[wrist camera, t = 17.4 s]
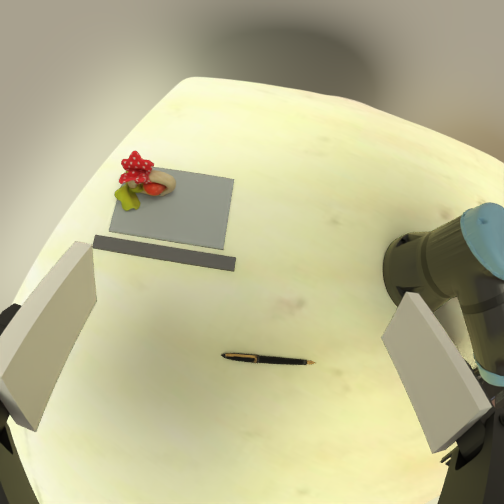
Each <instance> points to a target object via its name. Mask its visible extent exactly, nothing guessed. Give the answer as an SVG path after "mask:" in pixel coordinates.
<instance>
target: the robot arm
mask: <svg viewBox="0 0 504 504" xmlns="http://www.w3.org/2000/svg"><path fill="white" fill-rule="evenodd" d="M383 274H384V281H385V285H386V288H387V291H388V293H389V295H390V297H391V298H392V300H393V301H394V303H395V304H396V305H397V306H398V308H397V310H396V312H395V314H394V316H393V317H392V319H391V321H390V323H389V325H388V326H387V328H386V330H385V332H384V333H383V335H382V337H381V339H382V341H383V343H384V345H385V347H386V349H387V351H388V353H389V355H390V357H391V359H392V361H393V363H394V366H395V368H396V370H397V372H398V374H399V376H400V378H401V381H402V383H403V385H404V387H405V389H406V392H407V394H408V396H409V398H410V401H411V403H412V405H413V408H414V410H415V412H416V415H417V417H418V419H419V422H420V424H421V427H422V429H423V432H424V434H425V436H426V439H427V441H428V444H429V447H430V449H431V452H432V454H433V453H436V452H440V451H443V450H446V449H447V448H448V447H449V446H451V445H452V444H453V443H454V442H455V441H456V442H457V445H458V446H457V447H456V448H454V449H453V450H452V451H451V452H450V453H448V454H447V455H446V456H445V457H443V458H442V460H441V463H443V462H444V461H446V460H447V459H448V458H449V457H451V459H450V460H449V461H448V462H447V463H446V465H448V466H449V468H448V471H447V475H446V478H445V482H444V485H443V488H442V492H441V495H440V498H439V501H438V504H504V409H503V408H498V409H497V410H496V408H495V407H494V405H493V403H492V402H491V400H490V398H489V396H488V394H487V393H486V391H485V389H484V388H483V386H482V384H481V383H480V382H479V379H478V378H477V376H476V375H475V373H474V371H473V369H472V368H471V366H470V365H469V363H468V362H467V361H466V360H465V359H464V358H463V357H462V355H461V354H460V352H459V351H458V349H457V348H456V346H455V345H454V343H453V342H452V340H451V339H450V337H449V336H448V334H447V333H446V331H445V330H444V328H443V327H442V325H441V324H440V323H439V321H438V320H437V318H436V317H435V316H434V314H433V313H432V312H433V311H435V310H436V309H438V308H439V307H440V306H442V305H443V304H444V303H446V302H447V301H448V300H449V299H451V298H454V297H458V300H459V303H460V306H461V309H462V313H463V316H464V319H465V323H466V326H467V329H468V333H469V337H470V340H471V344H472V348H473V352H474V359H475V362H476V364H477V365H478V369H479V372H480V375H481V377H482V378H483V379H484V380H485V381H486V382H488V383H489V384H492V385H495V386H503V387H504V208H503V207H502V206H500V205H498V204H495V203H484V204H482V205H480V206H477V207H475V208H472V209H468V210H467V211H465V212H464V213H463V215H461V216H459V217H458V218H456V219H454V220H452V221H450V222H448V223H446V224H444V225H442V226H441V227H439V228H437V229H435V230H433V231H431V232H411V233H407V234H405V235H403V236H401V237H399V238H397V239H396V240H395V241H393V242H392V243H391V245H390V246H389V248H388V250H387V252H386V254H385V258H384V264H383ZM96 302H97V297H96V288H95V277H94V264H93V248H92V244H88V243H83V242H77V241H75V242H74V243H73V245H72V246H71V247H70V248H69V249H68V250H67V251H66V252H65V253H64V255H63V256H62V257H61V258H60V259H59V260H58V262H57V263H56V264H55V265H54V266H53V267H52V269H51V270H50V271H49V272H48V273H47V275H46V276H45V277H44V278H43V279H42V281H41V282H40V283H39V284H38V286H37V287H36V288H35V289H34V291H33V292H32V293H31V295H30V296H29V297H28V298H27V300H26V301H25V302H24V304H23V305H22V306H21V305H18V304H13V305H11V306H10V307H8V308H7V309H5V310H4V311H3V312H2V313H1V314H0V504H39V502H38V500H37V498H36V496H35V494H34V492H33V490H32V487H31V485H30V483H29V480H28V478H27V476H26V473H25V471H24V468H23V466H22V463H21V461H20V458H19V455H18V452H17V450H16V447H15V444H14V441H13V438H12V435H11V431H10V428H9V426H8V424H7V419H8V417H9V415H11V417H12V418H13V420H14V421H15V422H16V424H18V425H20V426H23V427H25V428H27V429H29V430H32V431H34V432H36V431H37V429H38V426H39V423H40V421H41V418H42V416H43V413H44V411H45V408H46V406H47V403H48V401H49V398H50V396H51V394H52V391H53V389H54V387H55V384H56V382H57V380H58V378H59V376H60V373H61V371H62V369H63V367H64V365H65V363H66V360H67V358H68V356H69V354H70V352H71V350H72V348H73V346H74V344H75V342H76V340H77V338H78V336H79V334H80V332H81V330H82V328H83V326H84V324H85V322H86V320H87V319H88V317H89V315H90V313H91V311H92V309H93V307H94V306H95V304H96Z"/></svg>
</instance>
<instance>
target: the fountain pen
mask: <svg viewBox="0 0 504 504" xmlns="http://www.w3.org/2000/svg"><path fill="white" fill-rule="evenodd" d="M221 356H223V357H224V358H227V359H231V360H236V361H242V362H251V363H269V364H290V365H306V364H314V363H315V362H313V361H307V360H301V359H290V358H280V357H269V356H259V355H252V354H239V353H225V354H222V355H221Z"/></svg>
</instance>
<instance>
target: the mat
mask: <svg viewBox="0 0 504 504" xmlns="http://www.w3.org/2000/svg"><path fill="white" fill-rule="evenodd" d="M152 170H156V171H161V172H165V173H167V174H169V175H171V176H173V177H174V179H175V180H176V187H175V189H174V190H173V191H172V192H171V193H168V194H165V195H164V196H159V195H157V196H151V195H148V194H144V193H136V195H137V197H138V199H139V201H140V203H141V204H140V207H139V209H137V210H136V209H134V208H132V209H130V210H128V211H125V210H124V209H123V208H122V205H121V201H119V200H118V199H117V202H116V206H115V209H114V213H113V216H112V220H111V224H110V228H109V232H114V233H121V234H127V235H133V236H139V237H145V238H152V239H158V240H164V241H170V242H177V243H183V244H189V245H195V246H202V247H208V248H214V249H220V250H223V249H224V242H225V235H226V228H227V222H228V215H229V209H230V202H231V196H232V190H233V183H234V179H230V178H224V177H218V176H212V175H205V174H199V173H192V172H186V171H179V170H172V169H164V168H157V167H153V168H152ZM125 184H126V183H123V184H122V186H123V185H125ZM122 186H121V187H122ZM93 248H95V249H101V250H107V251H112V252H118V253H124V254H130V255H135V256H141V257H147V258H153V259H159V260H165V261H171V262H177V263H184V264H190V265H196V266H202V267H209V268H215V269H221V270H228V271H234V268H235V261H236V257H229V256H223V255H217V254H210V253H204V252H198V251H191V250H185V249H179V248H173V247H167V246H160V245H154V244H148V243H142V242H136V241H130V240H124V239H118V238H112V237H106V236H100V235H95V239H94V243H93Z"/></svg>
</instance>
